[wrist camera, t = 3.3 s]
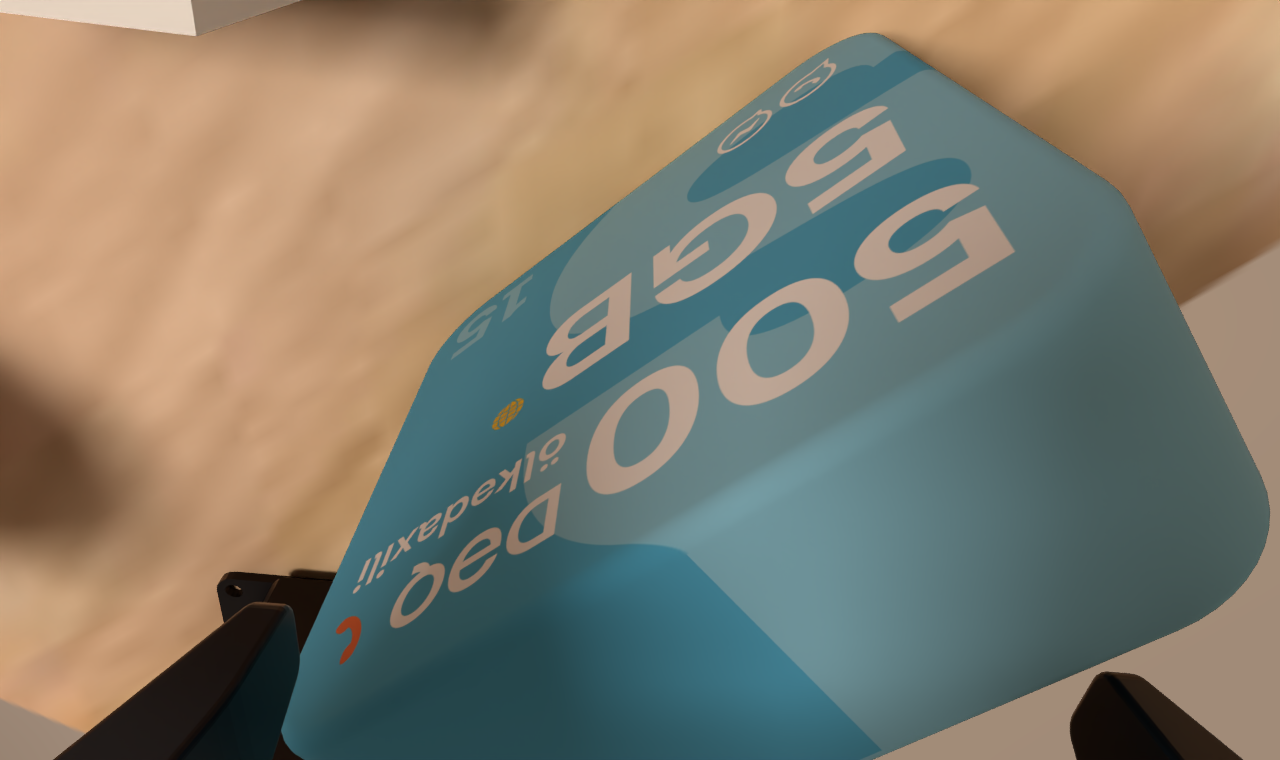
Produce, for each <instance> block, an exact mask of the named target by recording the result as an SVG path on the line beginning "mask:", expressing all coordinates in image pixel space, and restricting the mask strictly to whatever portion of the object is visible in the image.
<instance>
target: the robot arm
mask: <svg viewBox="0 0 1280 760" xmlns="http://www.w3.org/2000/svg"><path fill="white" fill-rule="evenodd" d="M332 583H333V580H325V579H313V578H302V577H291V576H279V575H268V574H257V573H245V572H229V573H226V574H225V575H224V576H223V577H222V578H221V580H220V582H219V583H218V585H217V592H218V597H219V602H220V606H221V611H222V616H223V621H224V624H222V625H221V626H220V627H219V628H217V629H216V630H215V631H214V632H212V633H211V634H210V635H209V636H207V637H206V638H205V639H204V640H202V641H201V642H200V643H199V644H197V645H196V646H195V647H194V648H192V649H191V650H190V651H189V652H187V653H186V654H185V655H184V656H182V657H181V658H180V659H179V660H177V661H176V662H175V663H174V664H172V665H171V666H170V667H169V668H167V669H166V670H165V671H164V672H162V673H161V674H160V675H159V676H157V677H156V678H155V679H154V680H152V681H151V682H150V683H149V684H147V685H146V686H145V687H144V688H142V689H141V690H140V691H139V692H137V693H136V694H135V695H134V696H132V697H131V698H130V699H129V700H127V701H126V702H125V703H124V704H122V705H121V706H120V707H118V708H117V709H116V710H115V711H113V712H112V713H111V714H110V715H108V716H107V717H106V718H105V719H103V720H102V721H101V722H100V723H98V724H97V725H96V726H95V727H93V728H92V729H91V730H90V731H88V732H87V733H86V734H85V735H83V736H82V737H81V738H80V739H79V740H77V741H76V742H75V743H73V744H72V745H71V746H70V747H68V748H67V749H66V750H65V751H63V752H62V753H61V754H60V755H58V756H57V757H56V758H55V759H54V760H304V759H302V758H301V757H299V756H298V755H296V754H295V753H293V752H292V751H291V749H290V748H289V747H288V746H287V744H286V743H285V741H284V738H283V735H282V732H281V729H282V726H283V723H284V720H285V716H286V713H287V710H288V706H289V703H290V700H291V697H292V693H293V690H294V687H295V684H296V680H297V677H298V672H299V666H300V654H301V652H302V650H303V647H304V645H305V643H306V641H307V638H308V636H309V634H310V632H311V629H312V627H313V625H314V623H315V621H316V618H317V616H318V614H319V612H320V609H321V607H322V605H323V603H324V600H325V598H326V596H327V594H328V592H329V589H330V587H331V585H332ZM231 585H235V586H238V587H239V588H241V590H238V589H235V588H233V587H232V586H231ZM1070 736H1071V741H1072V744H1073V748H1074V752H1075V756H1076V759H1077V760H1243V759H1242V758H1240V757H1239V756H1238V755H1237V754H1236V753H1234V752H1233V751H1232V750H1231V749H1229V748H1228V747H1227V746H1226V745H1224V744H1223V743H1222V742H1221V741H1220V740H1218V739H1217V738H1216V737H1215V736H1214V735H1212V734H1211V733H1210V732H1209V731H1207V730H1206V729H1205V728H1204V727H1202V726H1201V725H1200V724H1199V723H1198V722H1197V721H1195V720H1194V719H1193V718H1192V717H1190V716H1189V715H1188V714H1187V713H1185V712H1184V711H1183V710H1182V709H1181V708H1179V707H1178V706H1177V705H1176V704H1175V703H1173V702H1172V701H1171V700H1170V699H1168V698H1167V697H1166V696H1164V694H1162V693H1161V692H1159V690H1157V689H1156V688H1155V687H1154V686H1153V685H1151V684H1150V683H1149V682H1148V681H1146V680H1145V679H1144V678H1142V677H1140V676H1138V675H1135V674H1130V673H1118V672H1101V673H1100V674H1098V675H1096V677H1095V678H1094V679H1093V681H1092V683H1091V684H1090V686H1089V688H1088V689H1087V691H1086V693H1085V694H1084V696H1083V697H1082V699H1081V701H1080V703H1079V704H1078V706H1077V708H1076V709H1075V711H1074V713H1073V715H1072V717H1071V722H1070Z"/></svg>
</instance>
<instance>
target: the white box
mask: <svg viewBox="0 0 1280 760" xmlns="http://www.w3.org/2000/svg"><path fill="white" fill-rule="evenodd" d="M298 1H301V0H0V12H1V13H9V14H17V15H26V16H34V17H42V18H50V19H59V20H67V21H75V22H83V23H91V24H100V25H108V26H116V27H124V28H133V29H141V30H149V31H157V32H166V33H174V34H182V35H190V36H199V35H201V34H204V33H207V32H210V31H213V30H216V29H219V28H222V27H225V26H228V25H231V24H234V23H237V22H240V21H243V20H245V19H248V18H251V17H254V16H257V15H260V14H263V13H266V12H269V11H272V10H275V9H278V8H281V7H284V6H287V5H289V4H292V3H295V2H298Z"/></svg>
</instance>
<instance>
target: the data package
mask: <svg viewBox="0 0 1280 760" xmlns="http://www.w3.org/2000/svg"><path fill="white" fill-rule="evenodd" d="M1269 519H1270V508H1269V501H1268V495H1267V491H1266V488H1265V486H1264V483H1263V480H1262V477H1261V475H1260V473H1259V471H1258V469H1257V467H1256V465H1255V463H1254V460H1253V458H1252V456H1251V454H1250V452H1249V450H1248V448H1247V446H1246V444H1245V442H1244V440H1243V438H1242V436H1241V434H1240V432H1239V430H1238V428H1237V425H1236V423H1235V421H1234V420H1233V417H1232V415H1231V413H1230V412H1229V409H1228V407H1227V405H1226V403H1225V401H1224V399H1223V397H1222V395H1221V393H1220V391H1219V389H1218V386H1217V384H1216V382H1215V380H1214V378H1213V376H1212V374H1211V372H1210V370H1209V368H1208V366H1207V364H1206V362H1205V360H1204V358H1203V356H1202V354H1201V352H1200V349H1199V347H1198V345H1197V343H1196V341H1195V339H1194V337H1193V335H1192V333H1191V331H1190V329H1189V327H1188V325H1187V323H1186V321H1185V319H1184V317H1183V315H1182V312H1181V310H1180V308H1179V306H1178V304H1177V302H1176V300H1175V298H1174V296H1173V294H1172V292H1171V290H1170V288H1169V286H1168V284H1167V282H1166V280H1165V277H1164V275H1163V273H1162V271H1161V269H1160V267H1159V265H1158V263H1157V261H1156V259H1155V257H1154V255H1153V253H1152V251H1151V249H1150V247H1149V245H1148V243H1147V240H1146V238H1145V236H1144V234H1143V232H1142V230H1141V228H1140V226H1139V224H1138V222H1137V220H1136V218H1135V216H1134V214H1133V212H1132V210H1131V208H1130V206H1129V204H1128V203H1127V201H1126V200H1125V198H1124V197H1123V195H1122V194H1121V193H1120V192H1119V191H1118V190H1117V189H1116V188H1115V187H1114V186H1113V185H1111V184H1110V183H1109V182H1108V181H1106V180H1105V179H1103V178H1102V177H1100V176H1099V175H1097V174H1096V173H1094V172H1093V171H1091V170H1089V169H1088V168H1086V167H1085V166H1083V165H1082V164H1080V163H1079V162H1077V161H1076V160H1074V159H1073V158H1071V157H1069V156H1068V155H1066V154H1065V153H1063V152H1062V151H1060V150H1059V149H1057V148H1056V147H1054V146H1053V145H1051V144H1049V143H1048V142H1046V141H1045V140H1043V139H1042V138H1040V137H1039V136H1037V135H1036V134H1034V133H1033V132H1031V131H1029V130H1028V129H1026V128H1025V127H1023V126H1022V125H1020V124H1019V123H1017V122H1016V121H1014V120H1013V119H1011V118H1009V117H1008V116H1006V115H1005V114H1003V113H1002V112H1000V111H999V110H997V109H996V108H994V107H993V106H991V105H989V104H988V103H986V102H985V101H983V100H982V99H980V98H979V97H977V96H976V95H974V94H973V93H971V92H969V91H968V90H966V89H965V88H963V87H962V86H960V85H959V84H957V83H956V82H954V81H953V80H951V79H949V78H948V77H946V76H945V75H943V74H942V73H940V72H939V71H937V70H936V69H934V68H933V67H931V66H930V65H928V64H926V63H925V62H923V61H922V60H920V59H919V58H917V57H916V56H914V55H913V54H911V53H910V52H908V51H906V50H905V49H903V48H902V47H900V46H899V45H897V44H896V43H894V42H893V41H891V40H890V39H888V38H886V37H885V36H883V35H880V34H877V33H864V34H859V35H856V36H852V37H850V38H847V39H845V40H842V41H840V42H838V43H836V44H834V45H832V46H830V47H828V48H826V49H824V50H823V51H821V52H819V53H818V54H816V55H814V56H813V57H811V58H810V59H808V60H807V61H805V62H804V63H802V64H801V65H799V66H798V67H797V68H795V69H794V70H793V71H791V72H790V73H789V74H787V75H786V76H785V77H783V78H782V79H781V80H779V81H778V82H777V83H775V84H774V85H773V86H771V87H770V88H769V89H767V90H766V91H765V92H763V93H762V94H761V95H759V96H758V97H757V98H756V99H754V100H753V101H752V102H750V103H749V104H748V105H746V106H745V107H744V108H742V109H741V110H740V111H738V112H737V113H736V114H734V115H733V116H732V117H730V118H729V119H728V120H726V121H725V122H724V123H722V124H721V125H720V126H719V127H717V128H716V129H715V130H713V131H712V132H711V133H709V134H708V135H707V136H705V137H704V138H703V139H701V140H700V141H699V142H697V143H696V144H695V145H693V146H692V147H691V148H689V149H688V150H687V151H686V152H684V153H683V154H682V155H680V156H679V157H678V158H676V159H675V160H674V161H672V162H671V163H670V164H668V165H667V166H666V167H664V168H663V169H662V170H660V171H659V172H658V173H656V174H655V175H654V176H652V177H651V178H650V179H649V180H647V181H646V182H645V183H643V184H642V185H641V186H639V187H638V188H637V189H635V190H634V191H633V192H631V193H630V194H629V195H627V196H626V197H625V198H623V199H622V200H621V201H619V202H618V203H617V204H615V205H614V206H613V207H612V208H610V209H609V210H608V211H606V212H605V213H604V214H602V215H601V216H600V217H598V218H597V219H596V220H594V221H593V222H592V223H590V224H589V225H588V226H586V227H585V228H584V229H582V230H581V231H580V232H579V233H577V234H576V235H575V236H573V237H572V238H571V239H569V240H568V241H567V242H565V243H564V244H563V245H561V246H560V247H559V248H557V249H556V250H555V251H553V252H552V253H551V254H549V255H548V256H547V257H545V258H544V259H543V260H542V261H540V262H539V263H538V264H536V265H535V266H534V267H532V268H531V269H530V270H528V271H527V272H526V273H524V274H523V275H522V276H520V277H519V278H518V279H516V280H515V281H514V282H512V283H511V284H510V285H508V286H507V287H506V288H505V289H503V290H502V291H501V292H499V293H498V294H497V295H495V296H494V297H493V298H491V299H490V300H489V301H487V302H486V303H485V304H484V305H482V306H481V307H480V308H479V309H478V310H476V311H475V312H474V313H473V314H472V315H471V316H470V317H469V318H467V319H466V320H465V321H464V322H463V323H462V324H461V325H460V326H459V327H458V328H457V329H456V331H455V332H454V333H453V334H452V335H451V336H450V337H449V338H448V340H447V341H446V342H445V343H444V344H443V346H442V347H441V348H440V350H439V351H438V353H437V354H436V356H435V357H434V359H433V360H432V362H431V364H430V366H429V369H428V371H427V373H426V375H425V377H424V380H423V382H422V384H421V386H420V389H419V391H418V393H417V395H416V398H415V400H414V402H413V404H412V406H411V409H410V411H409V413H408V415H407V418H406V420H405V422H404V424H403V427H402V429H401V431H400V433H399V435H398V438H397V440H396V442H395V444H394V447H393V449H392V451H391V453H390V456H389V458H388V460H387V462H386V464H385V467H384V469H383V471H382V473H381V476H380V478H379V480H378V482H377V485H376V487H375V489H374V491H373V493H372V496H371V498H370V500H369V502H368V505H367V507H366V509H365V511H364V514H363V516H362V518H361V520H360V522H359V525H358V527H357V529H356V531H355V534H354V536H353V538H352V540H351V543H350V545H349V547H348V549H347V551H346V554H345V556H344V558H343V560H342V563H341V565H340V567H339V569H338V571H337V574H336V576H335V578H334V580H333V583H332V585H331V587H330V589H329V592H328V594H327V596H326V598H325V600H324V603H323V605H322V607H321V609H320V612H319V614H318V616H317V618H316V621H315V623H314V625H313V627H312V629H311V632H310V634H309V636H308V638H307V641H306V643H305V645H304V647H303V650H302V652H301V654H300V666H299V672H298V677H297V680H296V684H295V687H294V690H293V693H292V697H291V700H290V703H289V706H288V710H287V713H286V716H285V720H284V723H283V726H282V729H281V732H282V735H283V738H284V741H285V743H286V744H287V746H288V747H289V748H290V749H291V751H292V752H293V753H295V754H296V755H298V756H299V757H301V758H302V759H304V760H873V759H875V758H877V757H880V756H882V755H885V754H887V753H889V752H892V751H894V750H897V749H899V748H901V747H904V746H906V745H908V744H911V743H913V742H916V741H918V740H920V739H923V738H925V737H927V736H930V735H932V734H935V733H937V732H939V731H942V730H944V729H946V728H949V727H951V726H954V725H956V724H958V723H961V722H963V721H965V720H968V719H970V718H972V717H975V716H977V715H980V714H982V713H984V712H987V711H989V710H991V709H994V708H996V707H998V706H1001V705H1003V704H1006V703H1008V702H1010V701H1013V700H1015V699H1017V698H1020V697H1022V696H1024V695H1027V694H1029V693H1032V692H1034V691H1036V690H1039V689H1041V688H1043V687H1046V686H1048V685H1051V684H1053V683H1055V682H1058V681H1060V680H1062V679H1065V678H1067V677H1069V676H1072V675H1074V674H1077V673H1078V672H1081V671H1084V670H1086V669H1088V668H1091V667H1093V666H1096V665H1098V664H1100V663H1103V662H1105V661H1107V660H1110V659H1112V658H1114V657H1117V656H1119V655H1122V654H1124V653H1126V652H1128V651H1131V650H1133V649H1136V648H1138V647H1140V646H1143V645H1145V644H1147V643H1150V642H1152V641H1155V640H1157V639H1159V638H1162V637H1164V636H1167V635H1169V634H1171V633H1174V632H1176V631H1178V630H1180V629H1182V628H1184V627H1187V626H1189V625H1190V624H1193V623H1195V622H1197V621H1199V620H1200V619H1202V618H1203V617H1205V616H1206V615H1208V614H1209V613H1211V612H1212V611H1214V610H1216V609H1217V608H1218V607H1219V606H1221V605H1222V604H1223V603H1224V602H1225V601H1226V600H1228V599H1229V598H1230V597H1231V596H1232V595H1233V594H1234V593H1235V592H1236V591H1237V590H1238V589H1239V588H1240V587H1241V585H1242V584H1243V583H1244V582H1245V581H1246V580H1247V578H1248V577H1249V575H1250V574H1251V572H1252V570H1253V569H1254V568H1255V566H1256V565H1257V563H1258V560H1259V558H1260V556H1261V554H1262V551H1263V549H1264V547H1265V543H1266V539H1267V535H1268V531H1269Z"/></svg>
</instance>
